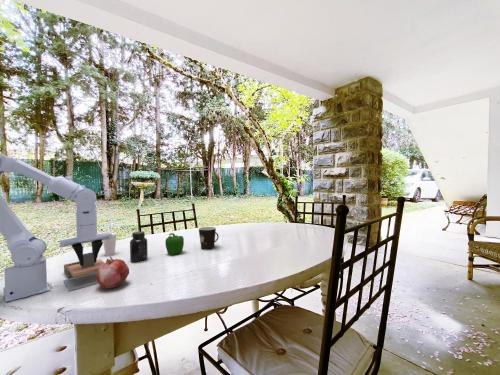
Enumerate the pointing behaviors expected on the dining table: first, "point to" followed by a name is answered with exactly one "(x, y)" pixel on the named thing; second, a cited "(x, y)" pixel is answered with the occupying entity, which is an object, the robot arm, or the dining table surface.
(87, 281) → the mat
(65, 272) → the box
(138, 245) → the supplement bottle
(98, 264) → the lid
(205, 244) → the coffee mug
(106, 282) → the fruit
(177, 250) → the bell pepper
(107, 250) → the smoothie
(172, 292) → the dining table surface
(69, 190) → the robot arm
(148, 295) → the dining table surface
